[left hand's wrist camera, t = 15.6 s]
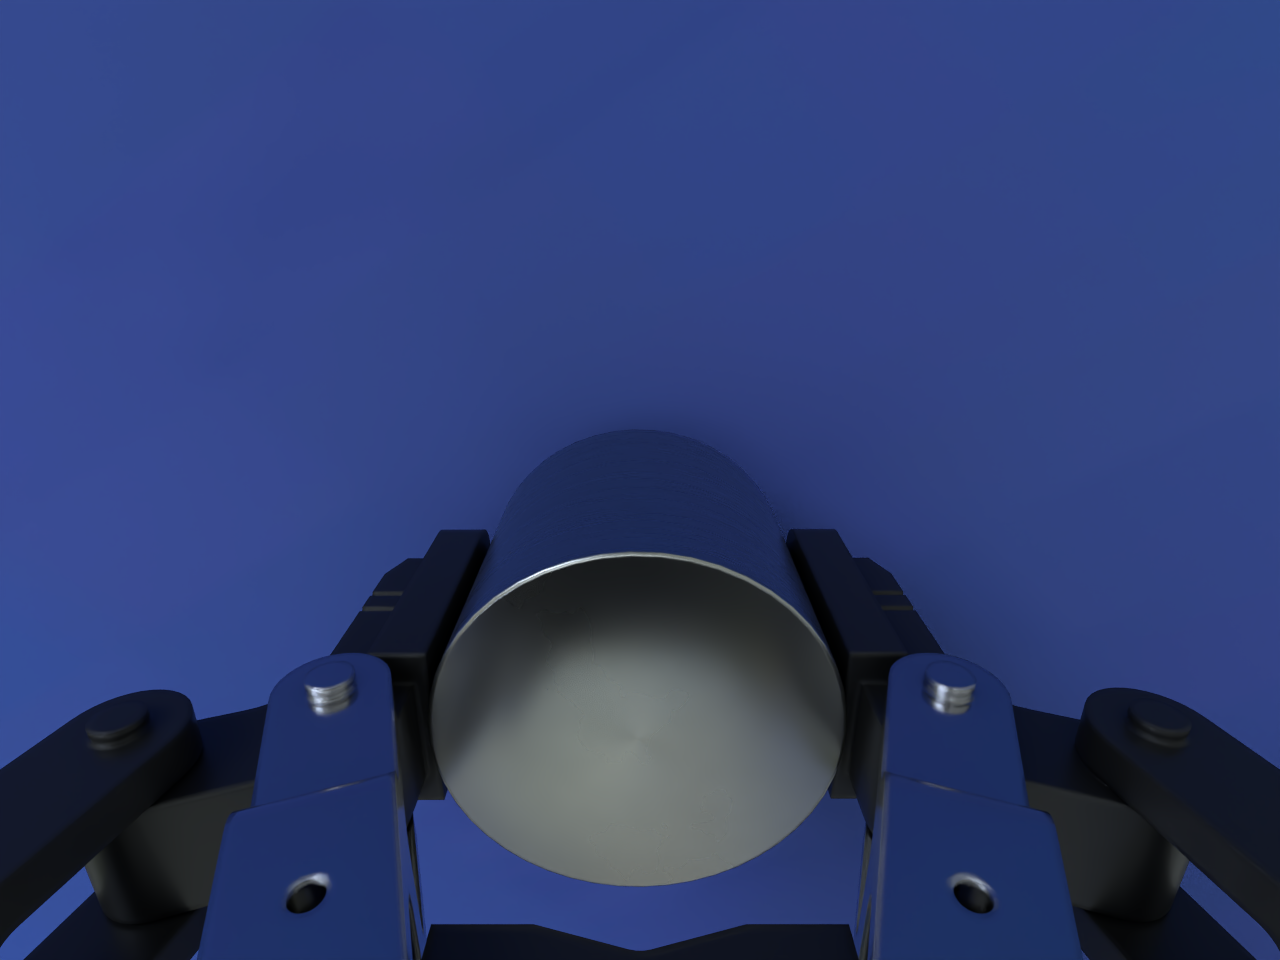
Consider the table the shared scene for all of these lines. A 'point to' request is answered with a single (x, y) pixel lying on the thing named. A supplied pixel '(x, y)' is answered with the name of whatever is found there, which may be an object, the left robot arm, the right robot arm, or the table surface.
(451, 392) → the table surface
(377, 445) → the table surface
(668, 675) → the can
